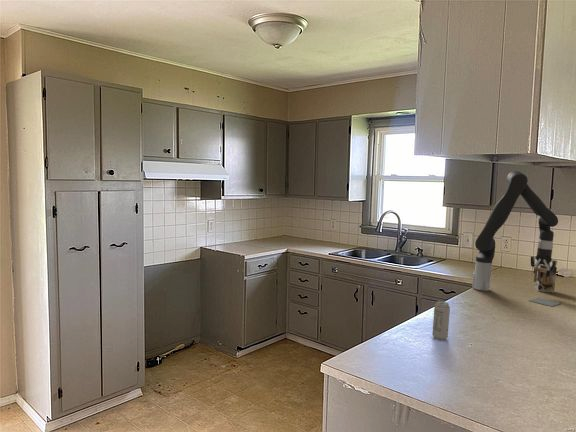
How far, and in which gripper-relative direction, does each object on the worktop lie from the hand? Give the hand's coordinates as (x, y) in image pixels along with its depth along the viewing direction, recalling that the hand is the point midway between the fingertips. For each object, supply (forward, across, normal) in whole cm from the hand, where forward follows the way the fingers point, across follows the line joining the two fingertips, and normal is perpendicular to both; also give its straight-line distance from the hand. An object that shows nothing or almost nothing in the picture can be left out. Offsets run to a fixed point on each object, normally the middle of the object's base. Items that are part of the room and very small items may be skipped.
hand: (541, 275), depth 250 cm
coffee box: (+12, -3, +14) cm, 19 cm away
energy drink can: (+12, +8, -116) cm, 117 cm away
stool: (+4, 0, 0) cm, 4 cm away
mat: (+12, +9, -14) cm, 20 cm away
